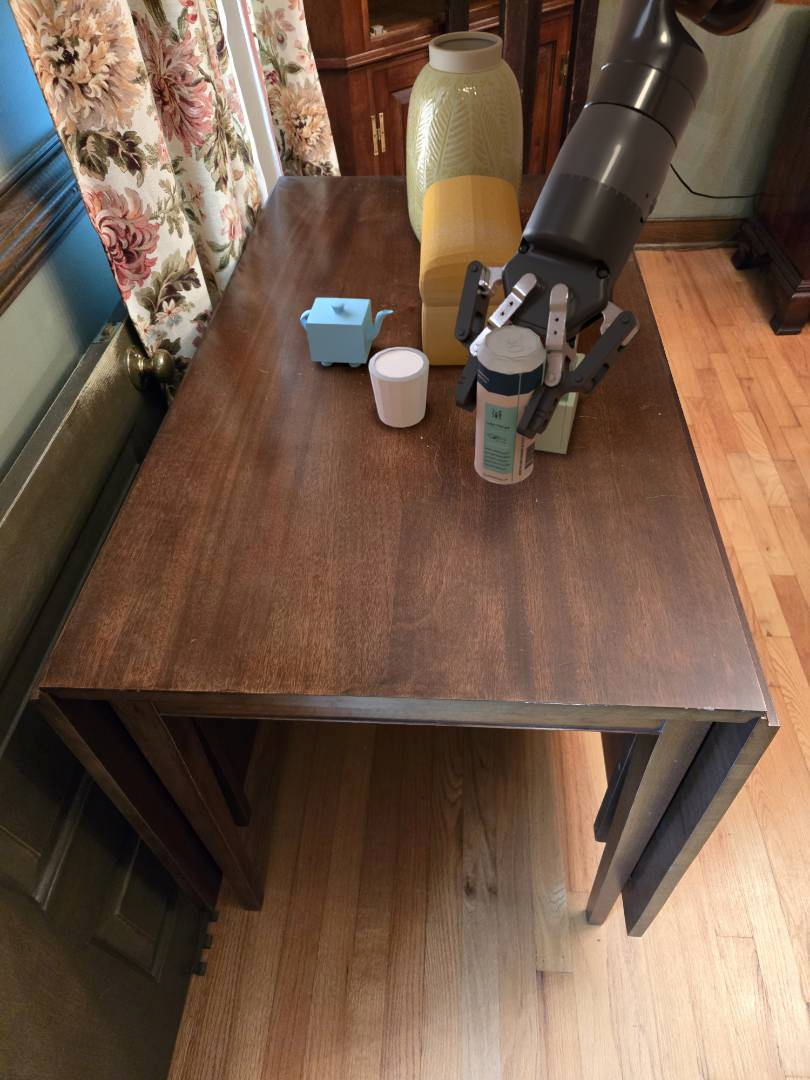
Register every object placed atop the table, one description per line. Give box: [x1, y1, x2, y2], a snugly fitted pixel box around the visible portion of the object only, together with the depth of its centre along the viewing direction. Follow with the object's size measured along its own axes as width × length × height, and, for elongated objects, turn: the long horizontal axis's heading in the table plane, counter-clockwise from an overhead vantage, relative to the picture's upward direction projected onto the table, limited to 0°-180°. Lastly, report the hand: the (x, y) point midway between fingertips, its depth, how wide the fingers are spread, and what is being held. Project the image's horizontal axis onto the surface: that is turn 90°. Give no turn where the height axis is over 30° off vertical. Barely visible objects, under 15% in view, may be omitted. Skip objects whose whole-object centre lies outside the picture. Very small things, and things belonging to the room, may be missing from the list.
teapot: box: [300, 297, 394, 368], centre depth 93 cm, size 12×6×8 cm, turn 82°
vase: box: [405, 30, 524, 245], centre depth 105 cm, size 17×17×27 cm
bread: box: [418, 175, 523, 366], centre depth 95 cm, size 24×13×15 cm, turn 178°
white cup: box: [368, 346, 430, 428], centre depth 84 cm, size 7×7×7 cm
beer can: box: [473, 325, 546, 486], centre depth 55 cm, size 5×5×12 cm
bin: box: [534, 348, 586, 455], centre depth 82 cm, size 10×10×7 cm
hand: (493, 421), depth 54 cm, fingers closed on beer can, 4 cm apart
